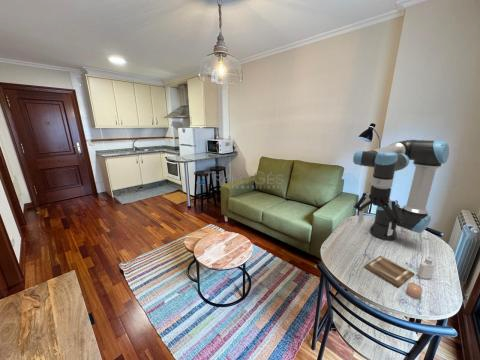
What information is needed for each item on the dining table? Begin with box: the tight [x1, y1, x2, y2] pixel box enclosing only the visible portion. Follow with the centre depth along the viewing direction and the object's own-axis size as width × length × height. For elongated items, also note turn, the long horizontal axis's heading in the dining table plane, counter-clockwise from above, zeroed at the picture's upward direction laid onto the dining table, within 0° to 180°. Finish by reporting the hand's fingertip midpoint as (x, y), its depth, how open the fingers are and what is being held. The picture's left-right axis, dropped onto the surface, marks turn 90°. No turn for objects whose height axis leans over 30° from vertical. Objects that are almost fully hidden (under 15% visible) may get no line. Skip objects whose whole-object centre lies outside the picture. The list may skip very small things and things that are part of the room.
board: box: [363, 255, 415, 289], centre depth 103 cm, size 16×16×2 cm
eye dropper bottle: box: [417, 255, 436, 280], centre depth 97 cm, size 4×6×12 cm
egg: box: [405, 282, 423, 300], centre depth 89 cm, size 5×5×4 cm
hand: (373, 228), depth 95 cm, fingers open, 13 cm apart
